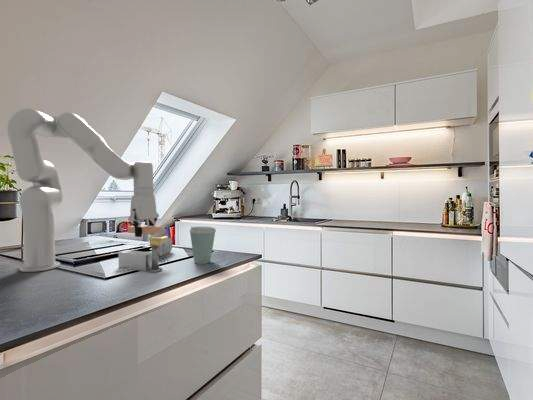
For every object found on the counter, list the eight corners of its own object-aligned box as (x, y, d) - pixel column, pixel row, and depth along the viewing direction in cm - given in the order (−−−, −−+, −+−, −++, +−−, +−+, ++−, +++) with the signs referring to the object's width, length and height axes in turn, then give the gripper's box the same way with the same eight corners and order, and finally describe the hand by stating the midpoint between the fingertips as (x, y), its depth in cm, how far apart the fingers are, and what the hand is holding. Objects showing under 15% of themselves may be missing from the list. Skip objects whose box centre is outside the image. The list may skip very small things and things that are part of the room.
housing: (118, 267, 118) (117, 243, 118) (128, 264, 123) (128, 241, 122) (155, 272, 111) (155, 247, 110) (165, 269, 115) (164, 245, 115)
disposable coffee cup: (197, 258, 133) (197, 224, 133) (220, 260, 130) (220, 225, 130) (184, 264, 123) (184, 227, 122) (209, 266, 120) (208, 228, 120)
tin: (167, 251, 148) (167, 234, 148) (173, 251, 148) (173, 234, 147) (151, 258, 133) (151, 239, 133) (158, 259, 133) (158, 239, 133)
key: (161, 241, 123) (161, 233, 122) (171, 241, 122) (171, 234, 122) (146, 246, 112) (146, 238, 112) (158, 246, 111) (158, 238, 111)
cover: (127, 232, 126) (127, 226, 126) (139, 230, 131) (138, 224, 131) (151, 234, 121) (151, 228, 121) (162, 232, 126) (162, 226, 126)
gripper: (152, 191, 135) (153, 232, 136) (119, 192, 119) (120, 238, 120) (165, 191, 132) (166, 233, 132) (133, 192, 116) (134, 239, 117)
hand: (144, 235), depth 126 cm, fingers closed on cover, 6 cm apart
